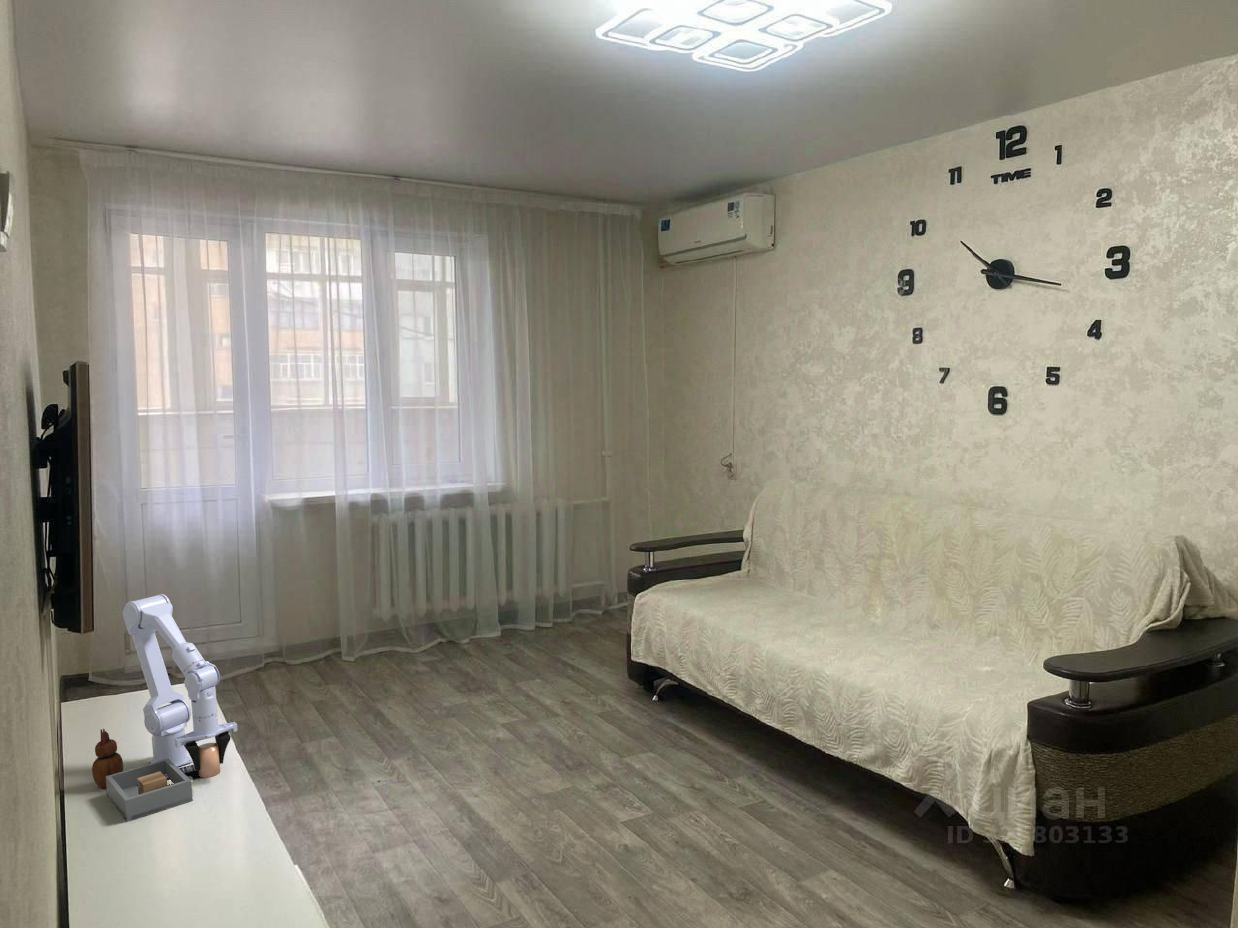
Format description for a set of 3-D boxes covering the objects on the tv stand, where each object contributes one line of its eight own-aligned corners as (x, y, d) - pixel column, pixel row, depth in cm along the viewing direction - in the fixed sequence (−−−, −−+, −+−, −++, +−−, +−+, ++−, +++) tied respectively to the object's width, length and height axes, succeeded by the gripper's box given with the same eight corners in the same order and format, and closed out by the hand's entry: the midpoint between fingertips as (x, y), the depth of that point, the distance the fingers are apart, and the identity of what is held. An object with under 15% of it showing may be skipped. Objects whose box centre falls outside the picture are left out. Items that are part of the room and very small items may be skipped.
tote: (107, 796, 215) (105, 776, 214) (169, 777, 224) (168, 758, 224) (127, 821, 202) (125, 800, 201) (192, 800, 211) (190, 780, 211)
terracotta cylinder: (196, 773, 226) (193, 746, 225) (216, 767, 229) (214, 740, 229) (202, 779, 222) (200, 752, 222) (223, 772, 226) (221, 746, 225)
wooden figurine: (109, 791, 218) (103, 732, 216) (88, 789, 219) (83, 731, 217) (129, 779, 224) (124, 721, 223) (109, 777, 225) (104, 720, 224)
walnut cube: (138, 798, 211) (137, 778, 210) (161, 791, 214) (160, 771, 214) (145, 805, 207) (143, 784, 207) (168, 797, 211) (166, 777, 210)
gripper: (179, 726, 217) (183, 779, 218) (240, 710, 226) (243, 761, 228) (170, 718, 222) (174, 771, 223) (230, 703, 232) (234, 753, 233)
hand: (209, 765), depth 226 cm, fingers closed on terracotta cylinder, 5 cm apart
